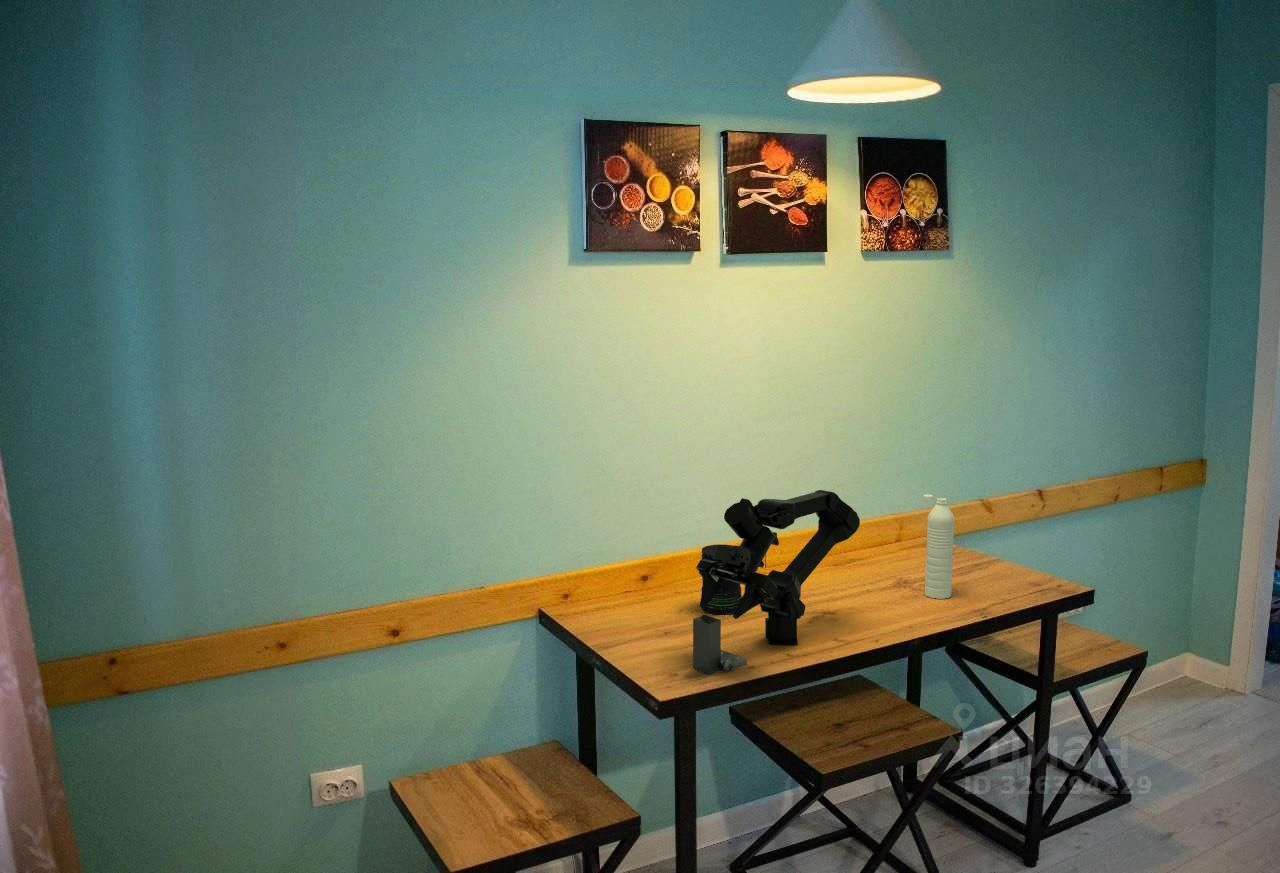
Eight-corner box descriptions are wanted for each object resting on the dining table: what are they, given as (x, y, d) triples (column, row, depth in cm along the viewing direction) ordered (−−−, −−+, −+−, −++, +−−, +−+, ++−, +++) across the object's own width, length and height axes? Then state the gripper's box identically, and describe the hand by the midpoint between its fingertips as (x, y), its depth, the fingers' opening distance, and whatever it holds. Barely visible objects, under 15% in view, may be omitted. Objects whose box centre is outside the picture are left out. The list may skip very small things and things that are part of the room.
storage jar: (739, 617, 256) (739, 556, 253) (698, 614, 258) (698, 554, 255) (743, 604, 265) (744, 545, 263) (704, 601, 267) (704, 543, 265)
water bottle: (956, 596, 270) (961, 498, 266) (939, 601, 266) (943, 502, 262) (929, 587, 277) (933, 492, 273) (912, 592, 273) (915, 496, 269)
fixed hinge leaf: (719, 654, 232) (719, 644, 231) (746, 664, 226) (746, 653, 226) (698, 663, 227) (698, 652, 227) (725, 672, 222) (725, 661, 221)
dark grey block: (704, 664, 226) (704, 614, 224) (720, 670, 223) (720, 619, 221) (693, 669, 224) (693, 618, 222) (709, 675, 220) (709, 623, 219)
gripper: (701, 522, 231) (666, 583, 225) (769, 537, 218) (733, 602, 212) (725, 550, 238) (691, 610, 232) (793, 567, 225) (759, 631, 219)
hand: (717, 612), depth 224 cm, fingers open, 9 cm apart
